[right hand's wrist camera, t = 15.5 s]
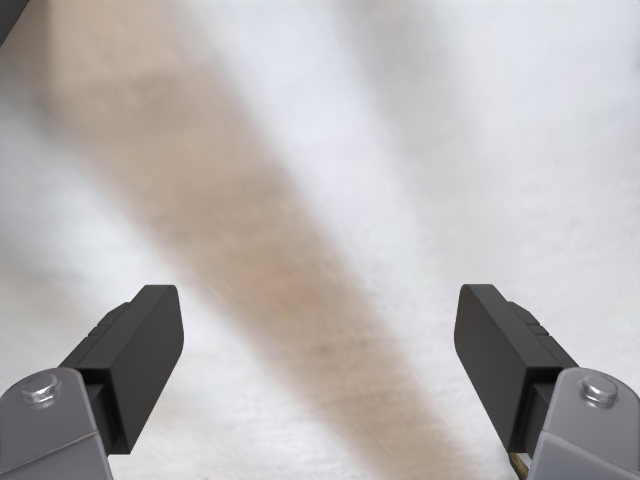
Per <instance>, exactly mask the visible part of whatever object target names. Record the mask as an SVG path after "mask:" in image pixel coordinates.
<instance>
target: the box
mask: <svg viewBox="0 0 640 480" xmlns="http://www.w3.org/2000/svg"><path fill="white" fill-rule="evenodd" d="M28 1H29V0H0V46H1V44H2V43H3V41H4V40H5V38H6V36H7V35H8V33H9V32H10V30H11V28H12V27H13V25H14V23H15V22H16V20H17V19H18V17H19V15H20V14H21V12H22V10H23V9H24V7H25V6H26V4H27V2H28Z"/></svg>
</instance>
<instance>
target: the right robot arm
mask: <svg viewBox="0 0 640 480" xmlns="http://www.w3.org/2000/svg"><path fill="white" fill-rule="evenodd" d="M454 343H455V349H456V352H457V355H458V357H459V359H460V361H461V363H462V365H463V367H464V369H465V371H466V373H467V375H468V377H469V378H470V380H471V382H472V384H473V386H474V388H475V390H476V392H477V394H478V396H479V398H480V400H481V402H482V404H483V406H484V408H485V410H486V412H487V414H488V416H489V418H490V420H491V422H492V424H493V426H494V428H495V430H496V432H497V434H498V436H499V438H500V440H501V442H502V444H503V446H504V447H505V449H506V451H507V453H528V455H529V457H530V458H531V460H532V463H531V466H530V469H529V473H528V476H527V479H526V480H640V398H639V397H638V395H637V394H636V393H635V392H634V391H633V390H632V389H631V388H630V387H628V386H627V385H626V384H624V383H623V382H621V381H620V380H618V379H616V378H614V377H612V376H610V375H608V374H605V373H603V372H600V371H596V370H593V369H588V368H580V367H579V366H578V364H577V363H576V362H575V361H574V360H573V359H572V358H571V357H570V356H569V355H568V354H567V352H566V351H565V350H564V349H563V348H562V347H561V346H560V345H559V344H558V343H557V342H556V340H555V339H554V338H553V337H552V336H549V333H548V332H547V331H546V330H545V328H544V327H543V326H540V323H539V322H538V321H537V320H536V319H535V318H534V316H533V315H532V314H531V313H530V312H529V311H527V310H525V309H524V308H522V307H520V306H519V305H517V304H515V303H514V302H507V301H506V299H505V298H504V297H503V296H502V295H501V294H500V292H499V291H498V290H497V289H496V288H495V287H494V286H493V285H492V284H464V285H463V286H462V287H461V290H460V295H459V302H458V309H457V316H456V323H455V330H454ZM183 344H184V331H183V324H182V317H181V311H180V304H179V297H178V291H177V288H176V287H175V286H174V285H145V286H144V287H143V288H142V289H141V290H140V291H139V293H138V294H137V295H136V296H135V297H134V298H133V300H132V301H131V302H125V303H123V304H122V305H120V306H118V307H117V308H115V309H113V310H112V311H110V312H108V313H107V314H106V315H105V317H104V318H103V319H102V320H101V321H100V322H99V323H98V324H97V327H94V328H93V330H92V331H91V332H90V333H89V334H88V337H85V338H84V339H83V340H82V341H81V342H80V344H79V345H78V346H77V347H76V348H75V349H74V350H73V351H72V352H71V353H70V354H69V355H68V357H67V358H66V359H65V360H64V361H63V362H62V363H61V364H60V365H59V366H58V367H57V368H52V369H47V370H44V371H40V372H37V373H35V374H32V375H30V376H28V377H26V378H24V379H22V380H20V381H19V382H17V383H16V384H14V385H13V386H12V387H10V388H9V389H8V390H7V391H6V392H5V393H4V394H3V395H2V397H1V398H0V480H114V479H113V476H112V473H111V469H110V466H109V463H108V459H107V457H108V456H109V454H130V453H131V451H132V449H133V447H134V445H135V443H136V441H137V439H138V437H139V435H140V433H141V431H142V429H143V427H144V426H145V424H146V422H147V420H148V418H149V416H150V414H151V412H152V410H153V408H154V406H155V404H156V402H157V400H158V398H159V396H160V394H161V392H162V390H163V389H164V387H165V385H166V383H167V381H168V379H169V377H170V375H171V373H172V371H173V369H174V367H175V365H176V363H177V361H178V359H179V357H180V355H181V353H182V349H183Z"/></svg>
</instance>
